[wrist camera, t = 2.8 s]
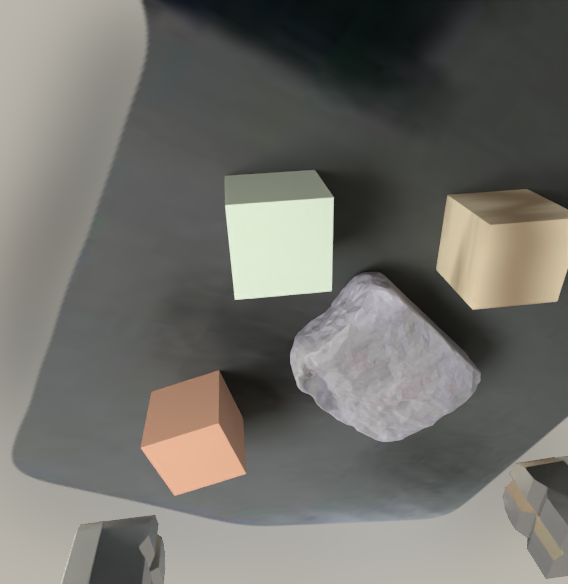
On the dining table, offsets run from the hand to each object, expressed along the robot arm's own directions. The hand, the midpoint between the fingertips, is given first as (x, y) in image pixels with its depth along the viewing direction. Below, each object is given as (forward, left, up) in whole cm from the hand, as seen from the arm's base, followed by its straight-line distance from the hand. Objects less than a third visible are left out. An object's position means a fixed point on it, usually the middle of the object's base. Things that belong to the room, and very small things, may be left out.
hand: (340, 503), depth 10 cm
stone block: (-7, +11, -19) cm, 23 cm away
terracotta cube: (+6, +14, -18) cm, 24 cm away
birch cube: (-13, +2, -19) cm, 23 cm away
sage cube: (0, 0, -18) cm, 18 cm away
